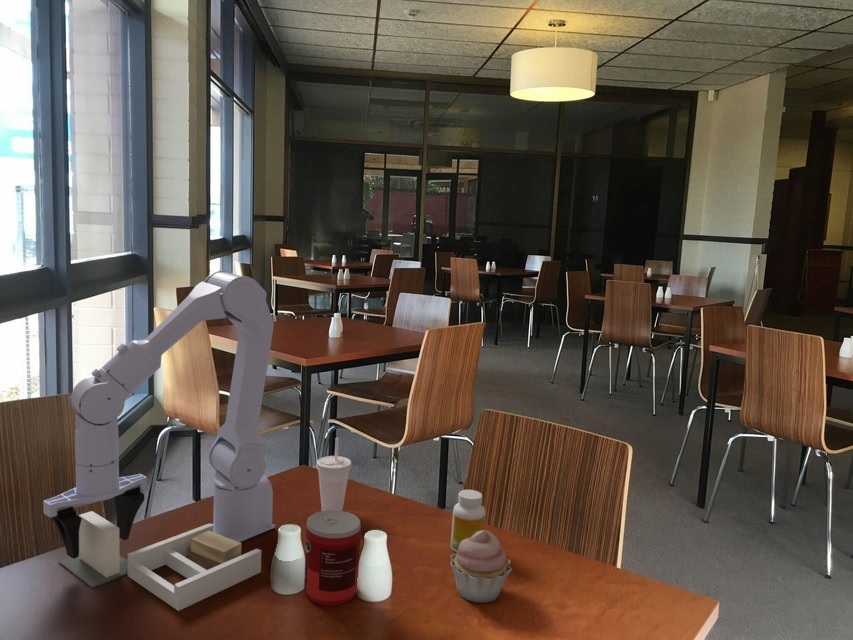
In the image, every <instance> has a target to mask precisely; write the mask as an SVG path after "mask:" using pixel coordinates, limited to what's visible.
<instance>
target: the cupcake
mask: <svg viewBox="0 0 853 640" xmlns="http://www.w3.org/2000/svg"><path fill="white" fill-rule="evenodd" d="M449 557H450V560H451V561H450V563H449V565H450V566H451V570H452V571H453V573H454V578H455V585H456V589H457V592H458V594H459V596H461V598H463V599H465V600H466V601H469V602H473V603H479V604H485V603H486V604H487V603H491V602H493V601H495V600H497V598H498V597H499V595H500V593H501V590H502V587H503V585H504V583H505V580H506V578H507V577H508V575H510V573H511V572H512V571H513V569H512V567H511V566H510V564H511V560H510V559H507V555H506V552H505V550H504V548H503V547H502V545H501V544H500V541H499V540H498V538H497V537H496V536H495V535H494V534H493V533H492V532H491V531H488V530H485V529H484V530H482V531H478V532H476V533H475V534H474V535H472V537H471V538H467V539H464V540H462V541H461V543H460V545H459V550H458V551H457V553H453V554H450V555H449Z"/></svg>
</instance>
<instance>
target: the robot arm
mask: <svg viewBox="0 0 853 640" xmlns="http://www.w3.org/2000/svg"><path fill="white" fill-rule="evenodd" d="M267 294H268V293H267V292H266V290H265V289H264V288H263V287H262V286H261V285H260V283H258V282H257V281H256V280H255V279H253V278H252V277H250V276H247V275H246V276H245V275H239V274H234V273H231V272H229V271H226V270H216V271H213V272H212V273H209V275H207V277H206V278H205V279H204V281H201V282H199V283H197V284H196V285H195V286H194V287H193V288H192V290H191V291H190V293H189V294H188V296H186V297H185V298H184V300H182V302H181V303H179V304H178V306H176V307H175V308H174V309H173V310H172V312H170V314H169V315H168V316H167V317H165V319H163V320H162V321H161V323H160V324H158V326H156V327H155V329H154V330H152V332H151V333H150V334H149V335H147V337H146V338H145V339H135V340H134V339H133V340H131V341H130V342H128V343H127V344H126V343H124V342H123V343H121V344H120V345H119V346H117V348H116V350H117V353H116V354H115V355H114V356H113V357H112V358H110V360H108V361H107V362H106V363H105V364H104V365H103V366H102V367H100V368H99V369H97V368H95V369H94V370H93V371H92V372H91V375H92V376H90V377H88V378H83V379H82V380H80V381H79V382H78V383H77V384H76V385H75V386H74V388H72V389H73V390H72V393H71V395H70V396H68V400H69V404H70V405H71V408H72V409H73V410H74V411H75V412H76V413H75V422H74V423H75V431H74V444H75V445H74V449H75V450H74V451H75V452H74V453H75V455H74V456H75V487H73V488H71V489H69V490H67V491H64V492H63V493H60V494H58V495H55V496H53V497H50V498H47V499H44V500H43V501H42V504H43V508H42V509H43V514H45V516H47V517H48V518H50V519H51V520H52V521H53V523H54V524H55V526H56V528H57V530H58V531H59V534H60V536H61V538H62V541H63V543H64V547H65V551H66V555H67V556H69V558H70V557H71V558H73V559H74V558H77V557H78V555H79V554H80V552H79V529H80V524H81V520H82V518H80V517H79V515H77V511H76V510H75V509H77V508H81V507H83V506H86V505H90V504H94V503H97V502H101V501H102V502H104V501H107V500H110V499H114V505H115V511H116V526H117V527H119V539H121V540H123V541H127V540H129V539H130V533H131V530H132V527H133V524H134V521H135V518H136V516H137V513H138V512H139V510H140V507H141V506H142V505H143V503H144V502H145V493H144V492H142V491H143V490H147V489H148V476H145V475H144V474H142V473H138V474H133V475H127V476H120V465H119V464H120V462H119V461H120V459H119V458H120V457H119V453H120V450H119V449H120V448H119V426H118V424H119V423H118V422H119V421H118V420H119V419H118V418H119V416H121V415H122V413H123V412H124V409H125V403H126V400H127V399H128V398H130V397H131V396H132V395H133V394H134V393H135V392H136V391H137V390H138V389H140V387H142V385H143V384H144V383H145V382H146V381H148V379H150V378H151V377H152V376H153V375H154V374H156V372H157V371H159V369H160V368H161V364H162V356H163V355H164V354H165V353H166V352H167V351H168V350H169V349H171V348H172V347H173V346H174V345H175V344H177V343H178V342H179V341H180V340H181V339H182V338H184V337H185V336H186V335H187V334H189V333H190V332H191V331H192V330H193V329H195V328H196V327H197V326H198V325H199V324H200V323H201V322H204V321H210V320H220V319H226V318H227V319H228V320H229V321H230V322H231V323H232V325H233V326H235V327H236V329H237V330H238V336H237V344H236V350H235V356H234V363H233V371H232V376H231V383H230V390H229V394H228V403H227V409H226V417H225V422H224V423H223V424H222V425H221V426H220V427H219V428H218V429H217V433H216V437H215V441H214V442H213V443H212V446H211V447H210V449H209V451H208V462H209V464H210V466H211V468H213V469H214V471H215V472H214V478H213V522H212V523H211V524H212V525H213V532H214V533H216V534H219V535H221V536H224V537H227V538H229V539H232V540H234V541H237V542H239V543H242V542H244V541H246V540H248V539H251V538H253V537H256V536H258V535H261V534H263V533H265V532H269V531H270V530H272V529H275V527H276V525H275V524H274V523H273V506H274V505H273V500H274V497H273V496H274V493H273V492H274V491H273V487H272V483H271V481H270V480H269V478H268V477H267V476H266V475H265V472H266V467H267V466H266V464H267V463H266V459H265V456H264V446H265V445H264V441H263V438H262V436H261V433H260V430H259V422H260V416H261V410H262V403H263V396H264V391H265V386H266V385H265V384H266V377H267V371H268V364H269V358H270V353H271V347H272V339H273V332H274V327H275V326H274V324H275V323H274V321H273V317H272V314H271V311H270V309H269V305H268V303H267Z"/></svg>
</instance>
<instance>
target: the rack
mask: <svg viewBox="0 0 853 640" xmlns="http://www.w3.org/2000/svg"><path fill="white" fill-rule="evenodd" d="M212 524H213V523H211V522H210V523H207V524H204V525H201V526H199V527H196V528H194V529H190V530H188V531H186V532H181V533H180V534H177V535H175V536H172V537H168V538H167V539H164V540H161V541H158V542H156V543H153V544H150V545H148V546H144V547H143V548H140V549H137V550H134V551H132V552H128V553H127V560H128V574H127V577H129V578H130V579H131V580H133V581H134V582H136V583H137V584H138V585H140V586H142V587H143V588H144V589H145V590H147V591H149V592H150V593H152V595H153V594H154V596H156V598H159V599H160V600H162V601H163V602H165V603H166V604H168V605H169V606H171V607H172V608H173V609H175V610H176V611H178V612H179V611H181V610H184V609H185V608H187V607H190V606H192V605H195V604H196V603H199V602H201V601H202V600H205V599H207V598H208V597H209V598H210V597H211V596H213V595H215V594H218V593H220V592H222V591H224V590H227V589H229V588H230V587H232V586H235V585H236V584H239V583H241V582H243V581H245V580H247V579H249V578H251V577H253V576H255V575H258V574H260V573H261V572H262V550H261V549H259V548H255V549H252V550H250V551H248V552H246V553H244V554H241V556H239V557H236V558H234V559H232V560H229V561H227V562H225V563H222V564H220V565H218V566H216V567H213V568H211V569H209V570H206V569H204V568H202V567H201V566H199V565H197V564H196V563H194V562H192V561H191V560H189V559H188V547H190V546H191V539H192V538H194V537H196V536H198V535H200V534H202V533H204V532H206V531H211V532H213V525H212ZM164 566H167V567H169V568H170V569H171V570H173V571H174V572H176V573H178V574H180V575H181V576H183V577H184V578H186V579H183V580H181V581H178V582H176V583H175V584H174V585H173V583H171V582H169V581H167V580H166V579H164V578H163V577H161V575H158V574H156V573H155V572H154V571H155V569H159V568H160V567H164ZM153 570H154V571H153Z"/></svg>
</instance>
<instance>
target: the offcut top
mask: <svg viewBox="0 0 853 640" xmlns="http://www.w3.org/2000/svg"><path fill="white" fill-rule="evenodd" d="M191 551H192V552H194V553H197V554H199V555H201V556H204V557H206V558H209V559H211V560H213V561H216V562H218V563H221V564H222V563H225V562H227V561H229V560H232V559H234V558H236V557H239V556H241V555H242V542H237V541H234V540H232V539H229V538H227V537H224V536H221V535H219V534H216V533H214V532H211V531H206V532H204V533H202V534H200V535H198V536H196V537H194V538H192V539H191Z"/></svg>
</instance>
